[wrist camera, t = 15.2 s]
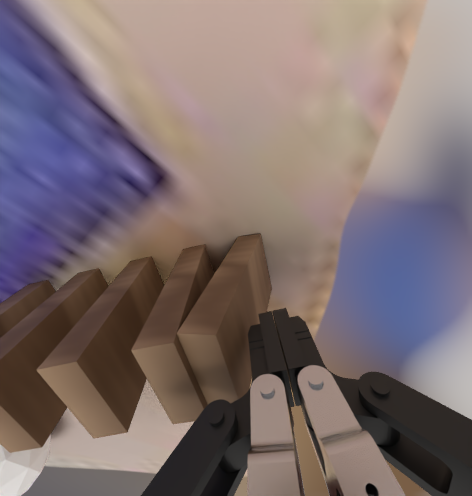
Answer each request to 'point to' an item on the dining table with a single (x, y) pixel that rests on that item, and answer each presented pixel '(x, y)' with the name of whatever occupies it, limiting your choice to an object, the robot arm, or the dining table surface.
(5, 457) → the perfume bottle
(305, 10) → the dining table surface
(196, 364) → the domino
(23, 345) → the domino
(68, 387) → the domino
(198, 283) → the domino
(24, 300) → the domino
